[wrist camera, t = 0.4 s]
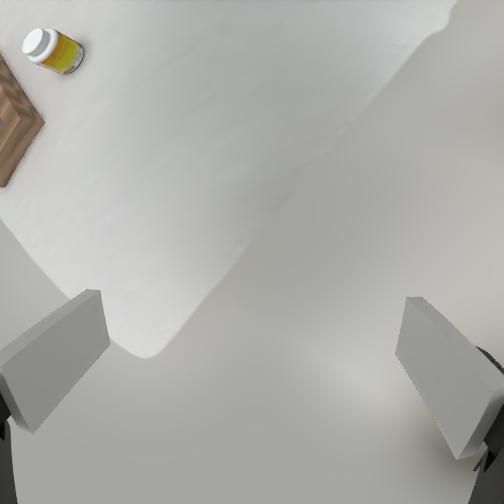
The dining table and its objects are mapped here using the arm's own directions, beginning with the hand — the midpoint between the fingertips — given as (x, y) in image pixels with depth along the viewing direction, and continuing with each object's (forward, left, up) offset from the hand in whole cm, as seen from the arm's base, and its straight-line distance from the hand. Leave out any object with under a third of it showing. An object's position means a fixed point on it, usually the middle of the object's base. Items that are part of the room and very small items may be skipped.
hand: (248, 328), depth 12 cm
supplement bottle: (-25, -31, -28) cm, 49 cm away
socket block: (-19, -49, -27) cm, 60 cm away
